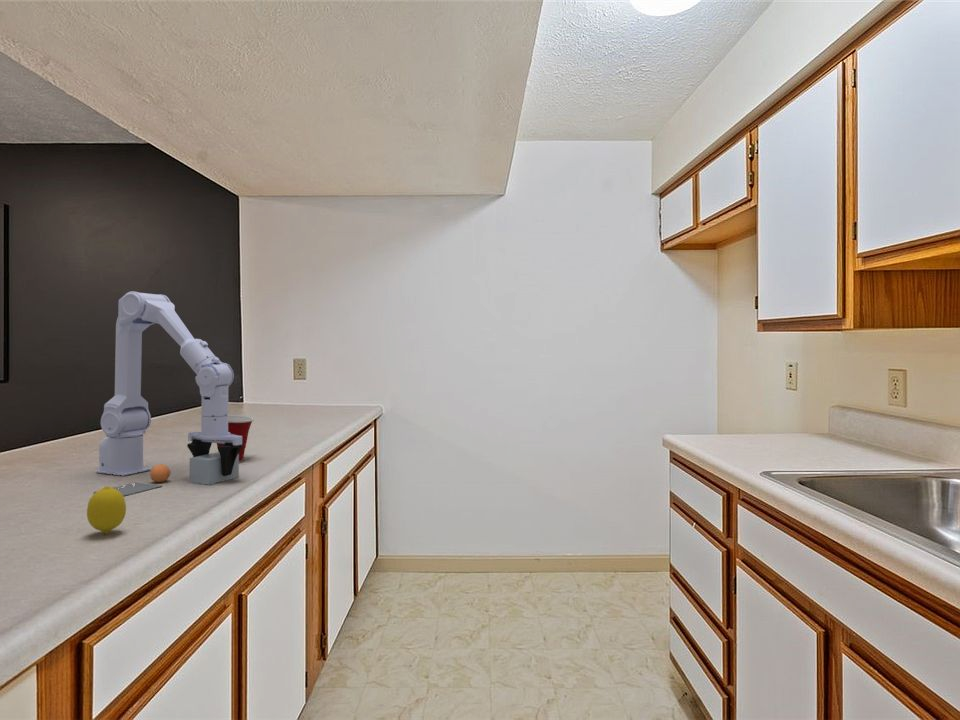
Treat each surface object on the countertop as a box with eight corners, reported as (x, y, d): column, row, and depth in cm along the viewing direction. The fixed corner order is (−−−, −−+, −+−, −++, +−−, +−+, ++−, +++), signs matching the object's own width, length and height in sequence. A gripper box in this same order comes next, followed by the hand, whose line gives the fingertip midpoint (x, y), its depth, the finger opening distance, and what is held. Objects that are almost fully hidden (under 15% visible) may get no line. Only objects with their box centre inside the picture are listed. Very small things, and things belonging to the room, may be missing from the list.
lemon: (98, 528, 103) (98, 482, 103) (132, 528, 103) (132, 482, 103) (79, 539, 97) (79, 490, 97) (115, 538, 98) (115, 490, 98)
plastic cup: (238, 465, 156) (238, 419, 156) (201, 463, 158) (201, 417, 158) (261, 457, 167) (261, 414, 166) (226, 455, 169) (227, 413, 168)
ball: (146, 483, 136) (146, 465, 135) (161, 479, 139) (161, 462, 139) (159, 484, 134) (159, 467, 134) (174, 481, 138) (174, 463, 138)
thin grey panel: (93, 493, 126) (93, 492, 126) (135, 483, 135) (135, 482, 135) (120, 497, 123) (120, 496, 123) (161, 486, 132) (161, 485, 132)
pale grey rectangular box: (189, 482, 137) (189, 458, 137) (219, 474, 145) (220, 451, 145) (208, 485, 135) (209, 460, 134) (238, 477, 143) (238, 453, 143)
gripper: (252, 415, 140) (251, 473, 141) (204, 411, 146) (204, 467, 146) (229, 418, 134) (228, 479, 134) (180, 415, 139) (180, 473, 140)
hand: (214, 473), depth 140 cm, fingers open, 7 cm apart
